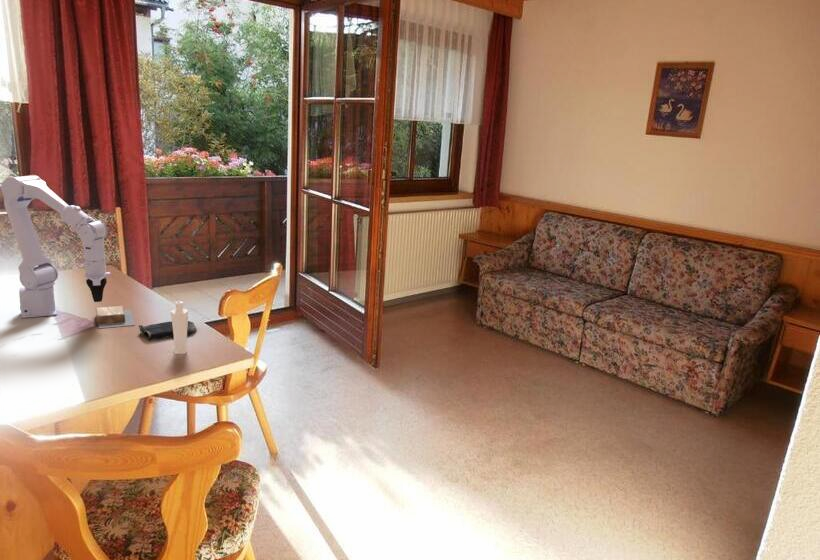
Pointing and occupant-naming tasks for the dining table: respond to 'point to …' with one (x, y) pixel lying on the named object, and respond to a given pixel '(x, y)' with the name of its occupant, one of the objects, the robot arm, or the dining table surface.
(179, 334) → the perfume bottle
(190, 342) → the dining table surface
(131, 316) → the mat
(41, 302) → the robot arm
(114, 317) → the walnut slab
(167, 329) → the electronic device
